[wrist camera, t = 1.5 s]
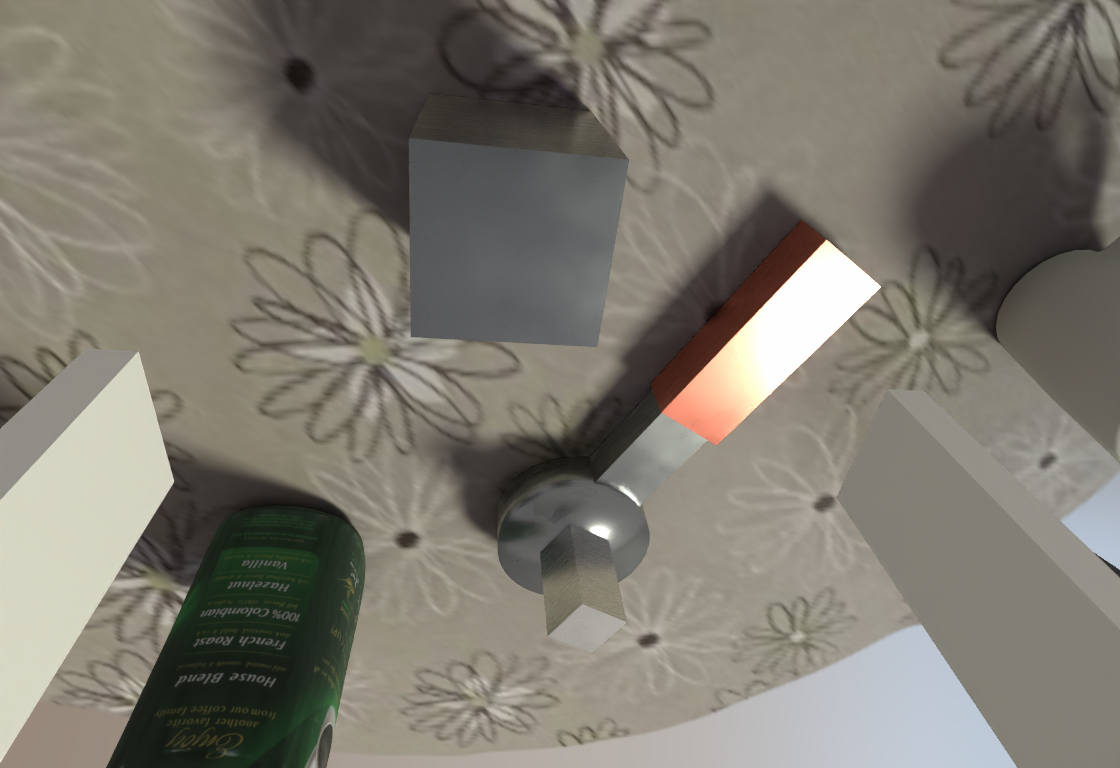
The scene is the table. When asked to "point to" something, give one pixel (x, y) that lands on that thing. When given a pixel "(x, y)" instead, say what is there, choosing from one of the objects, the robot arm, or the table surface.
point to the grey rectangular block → (511, 221)
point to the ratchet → (668, 437)
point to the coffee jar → (255, 649)
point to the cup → (1071, 336)
